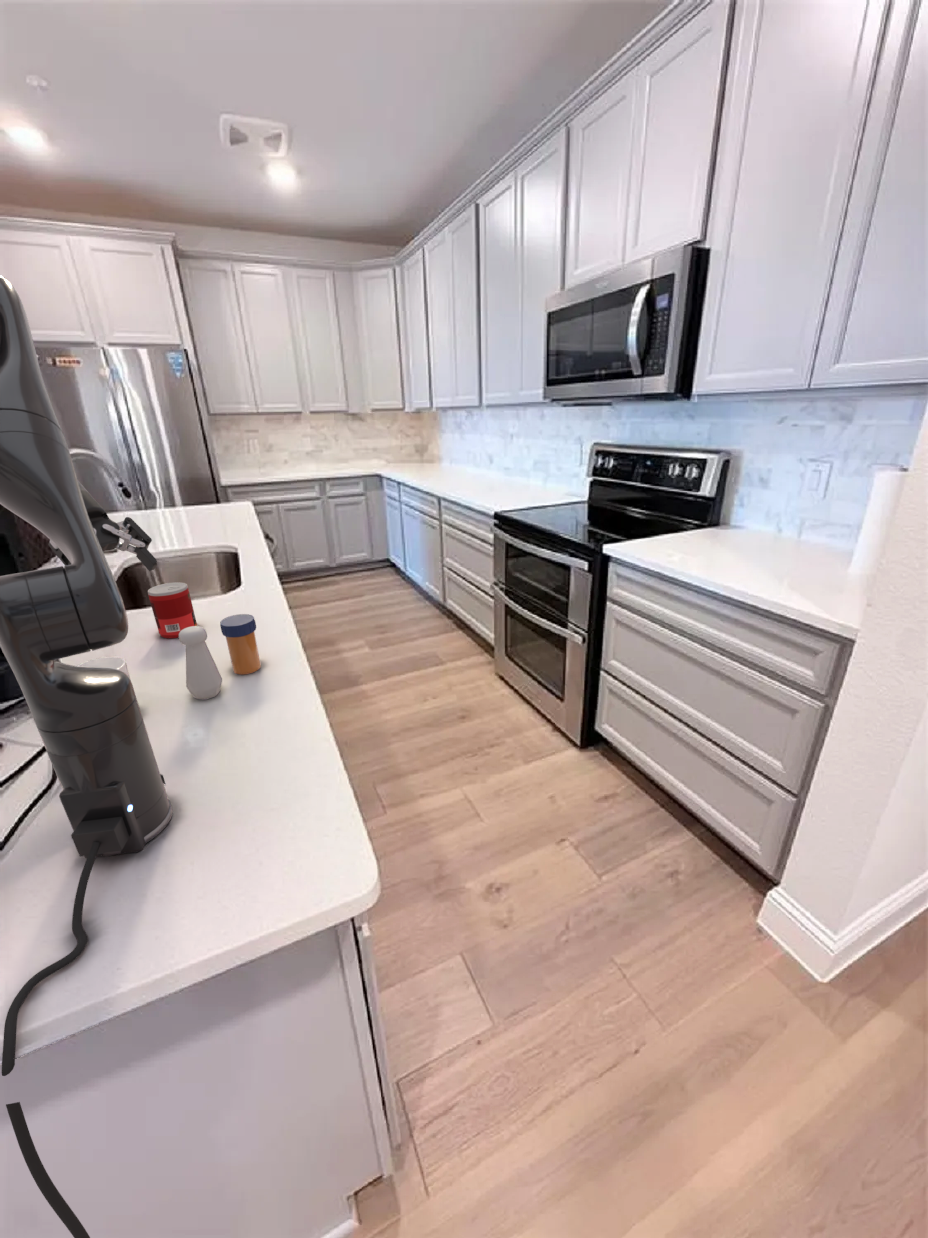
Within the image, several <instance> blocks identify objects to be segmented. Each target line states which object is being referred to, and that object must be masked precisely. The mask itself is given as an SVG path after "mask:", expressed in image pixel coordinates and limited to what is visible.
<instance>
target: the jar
mask: <svg viewBox="0 0 928 1238" xmlns="http://www.w3.org/2000/svg"><path fill="white" fill-rule="evenodd" d="M225 640H226V645H227V650H228V654H229V658H230V663H231V668H232V671H233V672H232V673H234V674H235V675H249V674H252V673H256V672H257V671H259V670H260V669H261V668H262V663H261V659H260V653H259V647H258V643H257V642H258V641H257V637H256V632H255V631H254V632H252V633H250V634H248V635H245V636H241V637H226V636H225Z"/></svg>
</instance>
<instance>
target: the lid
mask: <svg viewBox="0 0 928 1238" xmlns="http://www.w3.org/2000/svg"><path fill="white" fill-rule="evenodd" d="M256 623H257V622H256V619H255V616H254V615H253V614H248V613H240V614H233V615H229V616H226V617H224V618H222V619H220V623H219V624H220V631H221V634H222V636H224V637H225V638H226V637H241V636H245V635H248V634H250V633H252V632H255V631H256V630H257V624H256Z"/></svg>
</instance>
